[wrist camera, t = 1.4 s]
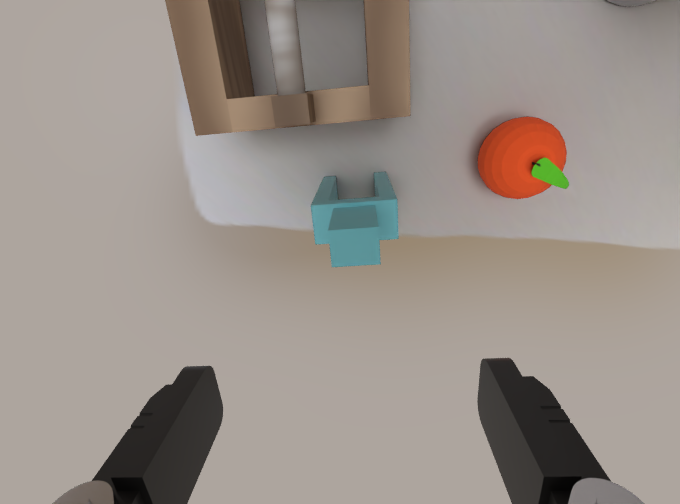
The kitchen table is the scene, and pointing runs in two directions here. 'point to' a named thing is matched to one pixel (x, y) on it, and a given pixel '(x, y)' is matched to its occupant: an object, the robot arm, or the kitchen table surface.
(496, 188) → the clementine
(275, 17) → the wooden rod stand
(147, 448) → the robot arm
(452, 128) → the kitchen table surface
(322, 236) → the teal tuning fork
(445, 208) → the kitchen table surface
